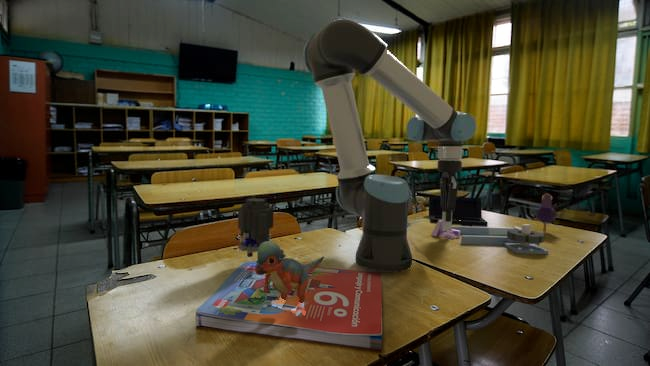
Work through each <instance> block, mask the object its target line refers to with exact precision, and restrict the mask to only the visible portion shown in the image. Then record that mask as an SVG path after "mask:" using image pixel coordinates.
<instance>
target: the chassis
mask: <svg viewBox="0 0 650 366" xmlns="http://www.w3.org/2000/svg"><path fill="white" fill-rule="evenodd" d="M452 229H454V230H459V231H460V242H461V243H460V244H461V245H482V246H484V245H486V246H487V245H488V246H489V245H491V246H503V247H505V248H507V249H508V250H510V251H513V252H514V253H515V254H522V255H523V254H527V255H528V254H529V255H549V250H548V249H547V248H546V249H545V248H543V247H541V243H527V242H526V243H524V242H518V241H514V240H511V239H509V238H507V232H508V230H511V229H512V230H514V229H522V232H521V234H530V233H531V231H532V225H531V224H528V223H527V224H526V223H523V224H521V227H519V226H512V227H504V226H503V227H501V226H500V227H498V226H497V227H496V226H493V227H492V226H468V225H460V226H459V225H452Z"/></svg>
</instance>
